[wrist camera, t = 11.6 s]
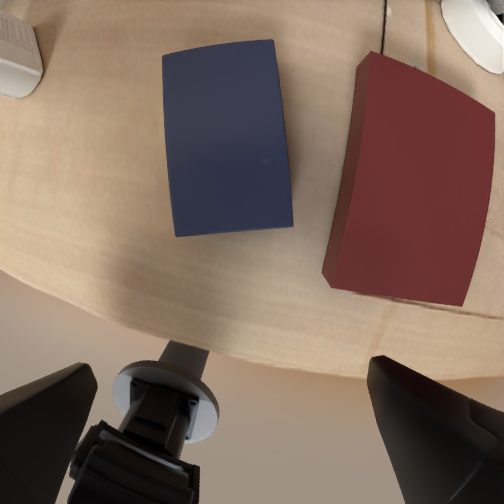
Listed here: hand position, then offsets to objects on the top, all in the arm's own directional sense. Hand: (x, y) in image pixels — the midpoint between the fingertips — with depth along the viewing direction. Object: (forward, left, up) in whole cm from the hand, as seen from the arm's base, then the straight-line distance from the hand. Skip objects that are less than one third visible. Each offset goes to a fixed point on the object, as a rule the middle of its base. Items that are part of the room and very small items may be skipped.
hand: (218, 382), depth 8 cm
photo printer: (+14, +26, -12) cm, 32 cm away
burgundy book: (+9, -10, -12) cm, 18 cm away
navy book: (+8, +3, -12) cm, 15 cm away
